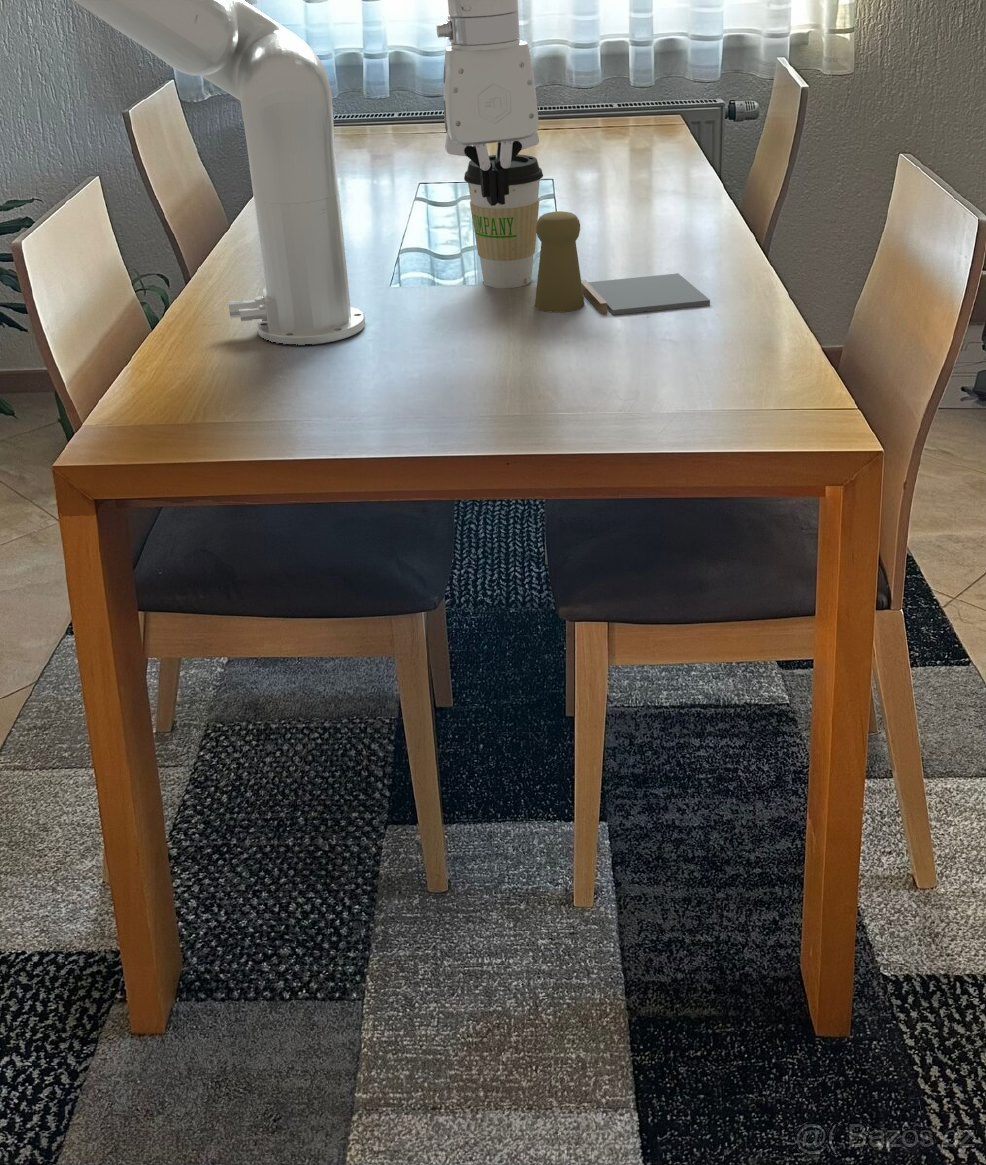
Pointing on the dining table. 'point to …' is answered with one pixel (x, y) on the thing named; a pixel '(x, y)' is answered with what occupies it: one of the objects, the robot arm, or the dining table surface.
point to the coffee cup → (507, 223)
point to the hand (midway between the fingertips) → (495, 202)
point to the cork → (558, 263)
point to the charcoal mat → (649, 293)
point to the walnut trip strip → (594, 297)
